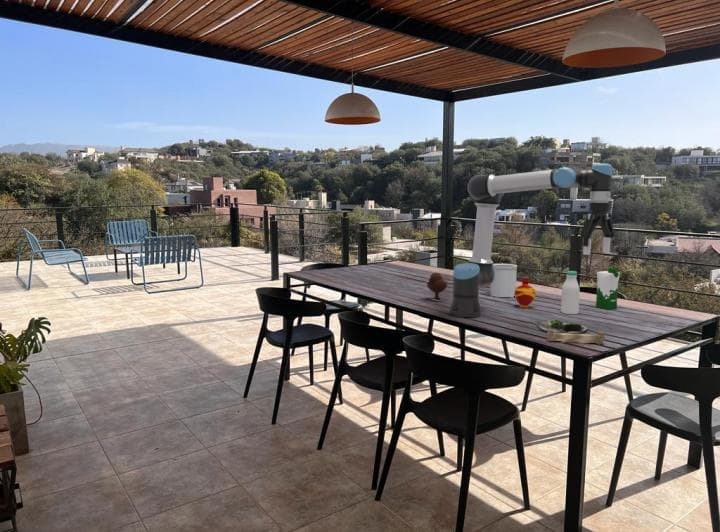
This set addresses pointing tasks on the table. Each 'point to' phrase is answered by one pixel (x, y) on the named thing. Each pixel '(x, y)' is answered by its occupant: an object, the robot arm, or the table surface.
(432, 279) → the ice cream bowl
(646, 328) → the table surface
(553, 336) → the stop rail
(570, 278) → the milk bottle
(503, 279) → the utensil holder
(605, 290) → the milk carton
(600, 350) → the table surface
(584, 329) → the salad plate
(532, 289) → the potion bottle
